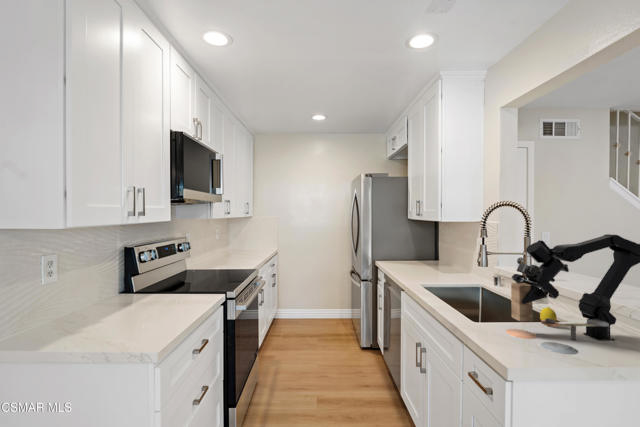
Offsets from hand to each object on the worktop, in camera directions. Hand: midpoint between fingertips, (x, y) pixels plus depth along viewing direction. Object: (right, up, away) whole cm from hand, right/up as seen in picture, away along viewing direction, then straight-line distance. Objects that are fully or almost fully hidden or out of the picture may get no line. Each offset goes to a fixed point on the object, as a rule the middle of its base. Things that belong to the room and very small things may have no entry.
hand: (518, 301), depth 118 cm
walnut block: (+1, -7, 0) cm, 7 cm away
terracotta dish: (+1, -13, 0) cm, 13 cm away
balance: (+16, -13, -5) cm, 22 cm away
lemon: (+20, -14, +12) cm, 27 cm away
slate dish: (+6, -13, -13) cm, 19 cm away
